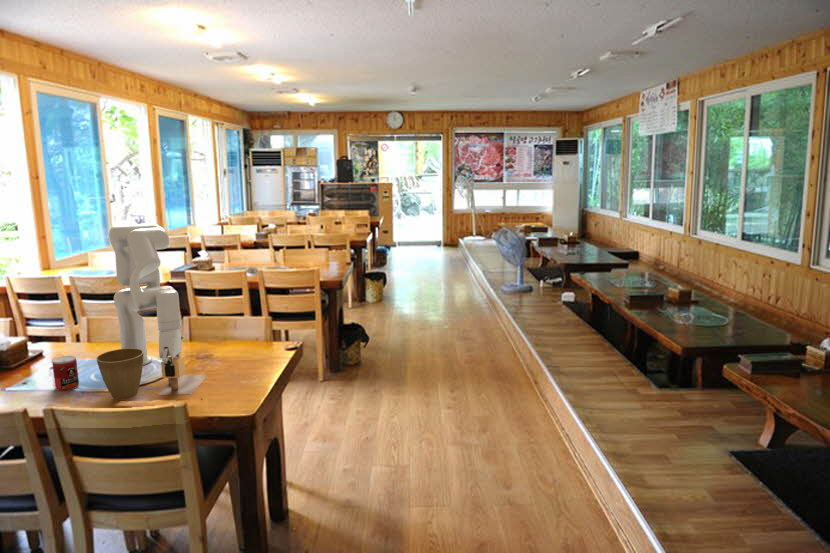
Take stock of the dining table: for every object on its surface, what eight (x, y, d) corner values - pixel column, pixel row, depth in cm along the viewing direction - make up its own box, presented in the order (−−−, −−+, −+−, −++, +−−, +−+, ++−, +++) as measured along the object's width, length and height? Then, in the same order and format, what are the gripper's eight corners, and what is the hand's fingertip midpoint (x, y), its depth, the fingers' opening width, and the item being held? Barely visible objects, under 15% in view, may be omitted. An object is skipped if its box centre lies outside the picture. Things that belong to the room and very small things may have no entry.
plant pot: (123, 387, 220) (118, 346, 217) (156, 392, 216) (152, 350, 213) (90, 403, 206) (85, 359, 203) (125, 408, 202) (121, 363, 199)
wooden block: (162, 378, 210) (160, 362, 209) (168, 372, 216) (167, 356, 214) (179, 377, 210) (178, 361, 209) (185, 372, 216) (183, 356, 215)
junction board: (157, 399, 209) (155, 383, 208) (176, 378, 229) (175, 364, 228) (191, 398, 210) (190, 382, 209) (208, 378, 229) (207, 363, 228)
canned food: (62, 392, 215) (59, 363, 213) (51, 388, 220) (47, 359, 218) (83, 385, 222) (80, 357, 220) (72, 381, 226) (68, 354, 224)
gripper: (167, 318, 218) (171, 365, 221) (149, 331, 201) (153, 382, 204) (188, 318, 218) (191, 365, 221) (171, 331, 201) (176, 381, 204)
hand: (173, 372), depth 213 cm, fingers closed on wooden block, 5 cm apart
